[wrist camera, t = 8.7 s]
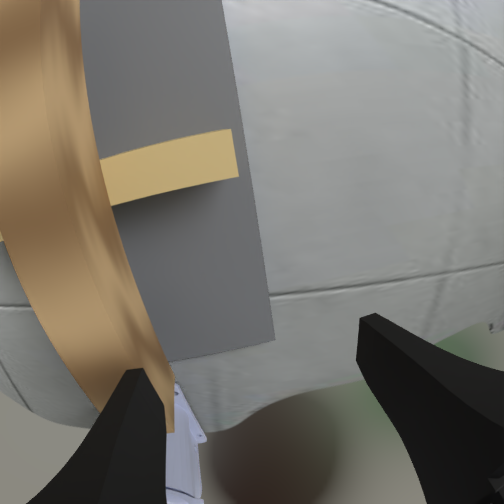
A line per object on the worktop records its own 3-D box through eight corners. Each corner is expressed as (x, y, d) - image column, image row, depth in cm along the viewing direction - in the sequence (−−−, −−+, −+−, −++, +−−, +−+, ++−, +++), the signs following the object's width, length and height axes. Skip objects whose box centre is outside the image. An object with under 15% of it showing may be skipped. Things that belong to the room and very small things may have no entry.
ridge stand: (272, 331, 21) (289, 374, 17) (75, 365, 20) (61, 406, 16) (210, -47, 10) (216, -87, 6) (-18, 39, 9) (-55, 29, 5)
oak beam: (174, 376, 16) (174, 432, 12) (127, 382, 15) (119, 436, 12) (80, -32, 6) (49, -70, 3) (25, -5, 6) (-16, -31, 3)
